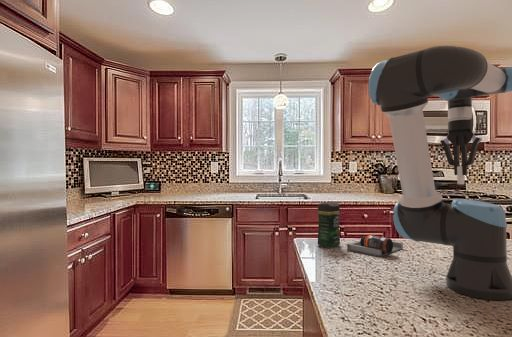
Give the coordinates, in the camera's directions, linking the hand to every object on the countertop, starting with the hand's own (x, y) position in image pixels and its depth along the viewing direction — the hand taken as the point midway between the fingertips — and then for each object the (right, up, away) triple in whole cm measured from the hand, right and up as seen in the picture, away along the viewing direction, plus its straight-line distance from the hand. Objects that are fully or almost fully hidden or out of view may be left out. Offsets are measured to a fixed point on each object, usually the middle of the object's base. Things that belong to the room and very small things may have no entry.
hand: (460, 184), depth 118 cm
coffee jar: (-44, -27, +18) cm, 55 cm away
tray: (-28, -27, +11) cm, 40 cm away
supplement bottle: (-26, -23, +1) cm, 35 cm away
